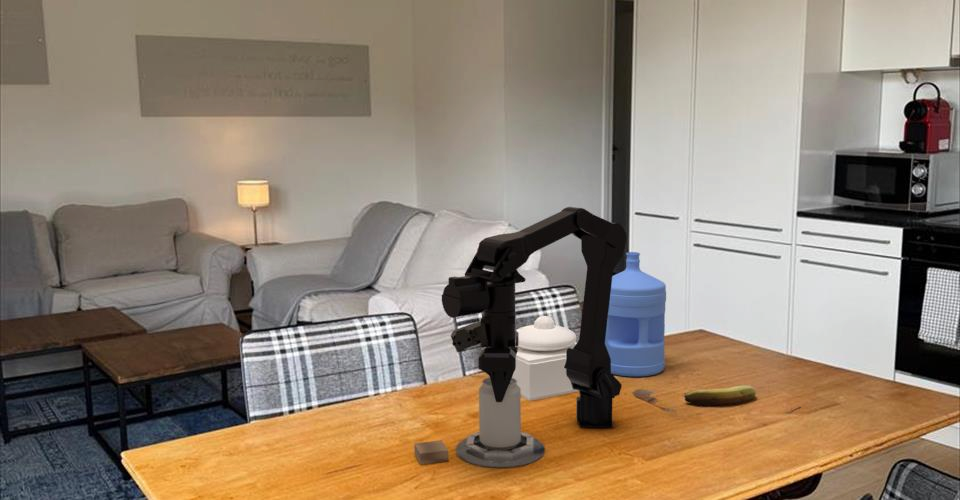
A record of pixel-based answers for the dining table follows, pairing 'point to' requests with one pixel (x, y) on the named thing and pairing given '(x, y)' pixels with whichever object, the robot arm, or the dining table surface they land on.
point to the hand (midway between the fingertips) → (500, 394)
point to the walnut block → (431, 452)
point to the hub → (500, 452)
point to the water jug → (636, 322)
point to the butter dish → (543, 359)
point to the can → (499, 417)
